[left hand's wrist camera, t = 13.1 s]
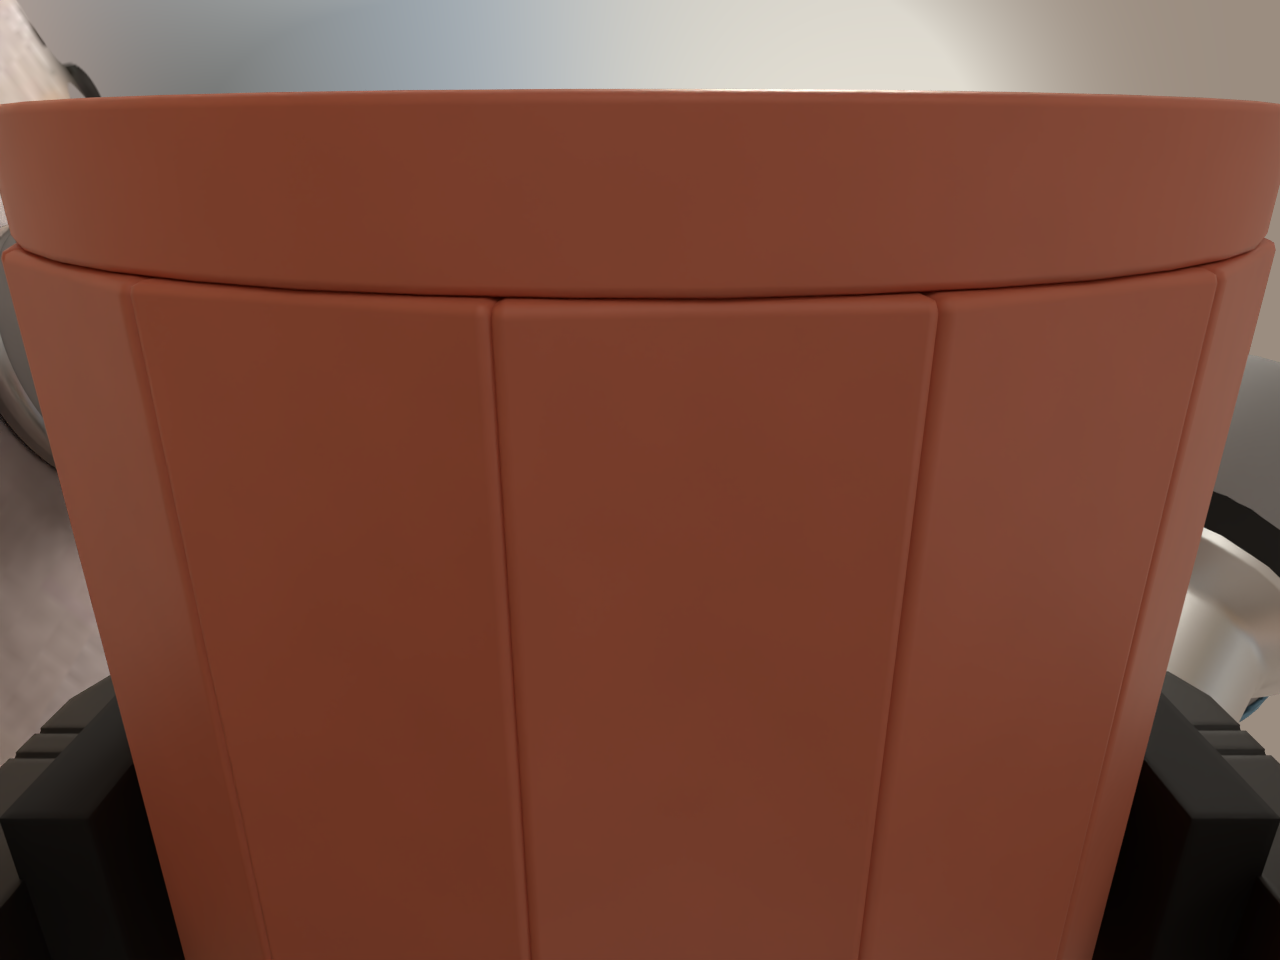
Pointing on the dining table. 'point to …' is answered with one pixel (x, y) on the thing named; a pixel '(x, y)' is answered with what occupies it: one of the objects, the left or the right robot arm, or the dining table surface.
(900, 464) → the terracotta flower pot
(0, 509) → the dining table surface
